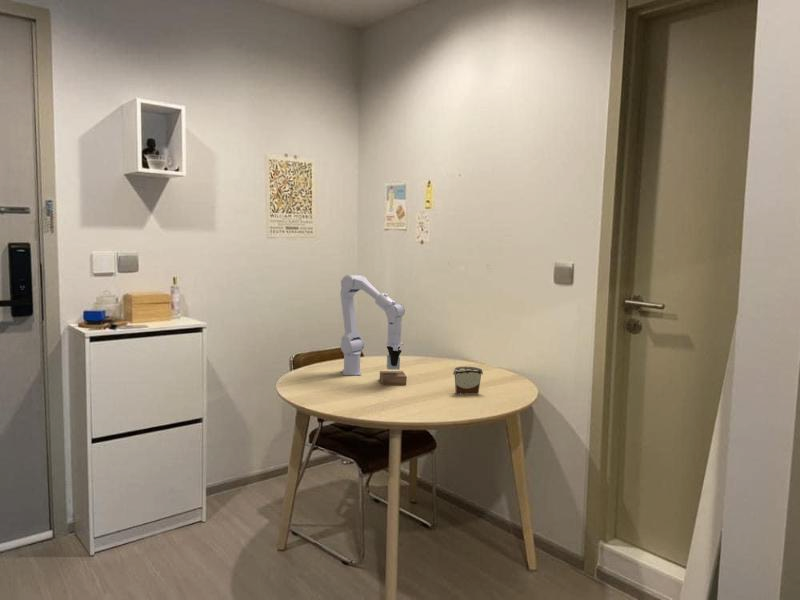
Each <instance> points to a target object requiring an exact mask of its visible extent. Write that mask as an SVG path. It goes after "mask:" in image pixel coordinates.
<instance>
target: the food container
mask: <svg viewBox="0 0 800 600" xmlns="http://www.w3.org/2000/svg"><path fill="white" fill-rule="evenodd" d="M483 372H484V371H483V369H482V368H480V367H476V366H474V367H473V366H457V367H455V368H454V369H453V372H452V375H454V384H455V387H454V389H455V395H463V394H462V393H478V394H479V392H480V386H481V379H482V375H483V374H484V373H483ZM460 393H461V394H460Z"/></svg>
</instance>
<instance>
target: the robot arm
mask: <svg viewBox="0 0 800 600" xmlns="http://www.w3.org/2000/svg"><path fill="white" fill-rule="evenodd" d="M340 286H341V287H340V288H341V289H340V300H341V303H340V304H341V311H342V319H343V326H344V334H343V335H342V336H341V338H340V339H341V342H340V343H341V344H340V350H341V352H342V353H343V356H344V357H343V368H342V375H343V376H361V375H362V372H361V354H362V351H363V350H364V349H365V343H364V340H363V336H362V334H361V333H360V332H359V331H358V326H357V317H356V310H355V300H354V296H355V295H356V294H357V293H358V292H359V291H361V290H362V291H364V292H365V293H366V294H367V295H369V296H370V297H371V298H373V299H374V300H375V304H376V305H377V306H378V307H379V308H380V309H382V310H383V311H384V312H385V316H386V318H387V342H386V349H387V352H388V355H390V359H391V365H392V366H397V362H398V358H399V357H400V355H401V353H402V349H400V347H402V346H404V342H402V326H403V325H402V324H403V323H402V320H403V319H402V318H403V316H404V315H405V311H406V310H405V307H404V306H403V304H402V303H397V301H395V300H393V299H392V298H391V297H390V296H389V294H388V293H385V292H382V293H381V292H380V291H378V289H377V288H376V287H374V285H372V284H371V283H370V282H369V281H368V278H367V277H365V276H364V275H363V274H352V275H349V274H345V275H344V276H343V277H342V279H340Z"/></svg>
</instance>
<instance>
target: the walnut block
mask: <svg viewBox="0 0 800 600" xmlns="http://www.w3.org/2000/svg"><path fill="white" fill-rule="evenodd" d="M407 377H408V376H407V375H406V373H405V372H404V371H403V370H380V371H379V381H380V383H381V385H382V386H407Z"/></svg>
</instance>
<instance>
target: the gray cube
mask: <svg viewBox="0 0 800 600" xmlns="http://www.w3.org/2000/svg"><path fill="white" fill-rule="evenodd" d="M400 365H401V357H400V356H399V358H398V362H397V366H392V365H391V359H390V355H389V354H388V355H386V369H387V371H401V370H400V367H401V366H400Z"/></svg>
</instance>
